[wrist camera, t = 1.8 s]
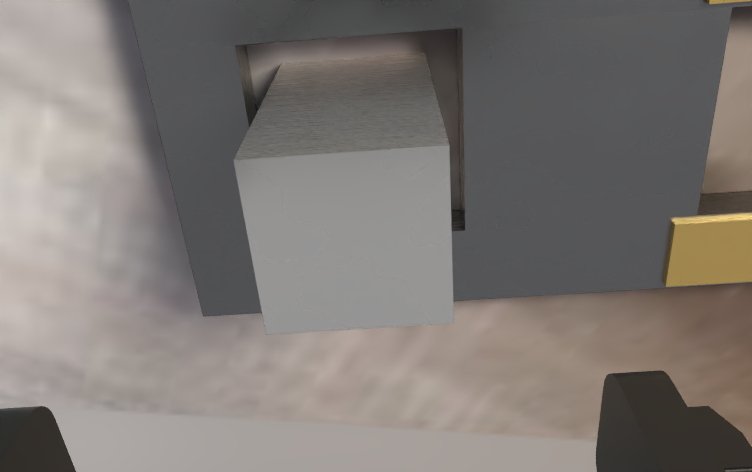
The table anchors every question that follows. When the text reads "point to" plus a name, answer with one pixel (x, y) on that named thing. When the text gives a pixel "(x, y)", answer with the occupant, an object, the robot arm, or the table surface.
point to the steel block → (349, 197)
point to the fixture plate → (486, 137)
